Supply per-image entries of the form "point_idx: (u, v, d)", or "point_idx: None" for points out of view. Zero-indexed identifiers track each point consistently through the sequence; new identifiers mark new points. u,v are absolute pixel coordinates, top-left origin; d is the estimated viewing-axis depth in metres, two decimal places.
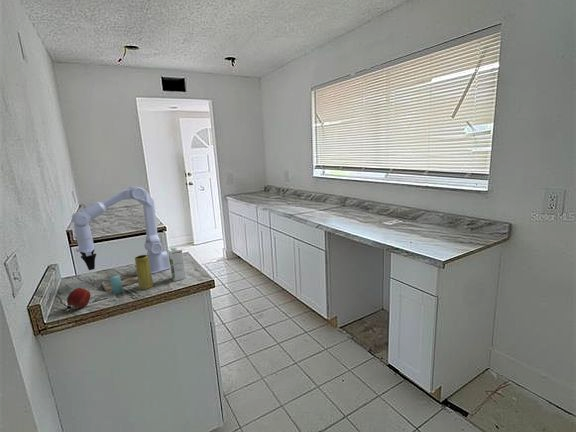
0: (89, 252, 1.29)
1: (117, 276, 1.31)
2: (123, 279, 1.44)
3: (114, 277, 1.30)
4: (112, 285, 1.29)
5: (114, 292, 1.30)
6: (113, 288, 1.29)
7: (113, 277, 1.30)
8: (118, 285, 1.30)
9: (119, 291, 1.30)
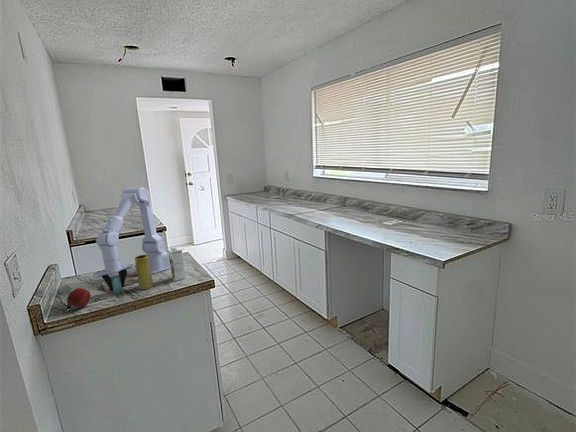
0: (94, 275, 1.25)
1: (117, 276, 1.31)
2: None
3: (114, 277, 1.30)
4: (112, 285, 1.29)
5: (114, 292, 1.30)
6: (113, 288, 1.29)
7: (113, 277, 1.30)
8: (118, 285, 1.30)
9: (119, 291, 1.30)
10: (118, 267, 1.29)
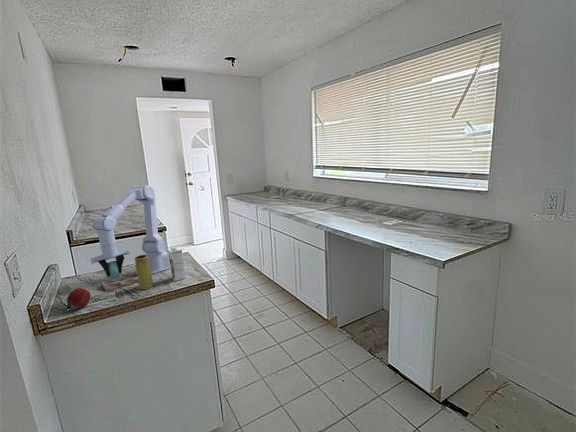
0: (91, 260, 1.23)
1: (114, 261, 1.30)
2: (123, 279, 1.44)
3: (111, 262, 1.29)
4: (109, 271, 1.28)
5: (111, 278, 1.28)
6: (110, 273, 1.28)
7: (110, 262, 1.29)
8: (115, 270, 1.28)
9: (116, 277, 1.29)
10: (115, 252, 1.27)
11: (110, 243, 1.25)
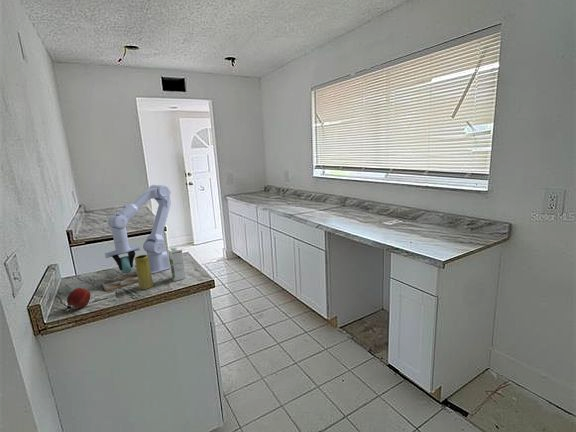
0: (105, 255, 1.35)
1: (126, 257, 1.41)
2: (123, 279, 1.44)
3: (123, 257, 1.40)
4: (122, 265, 1.40)
5: (123, 272, 1.40)
6: (122, 267, 1.40)
7: (122, 257, 1.41)
8: (127, 265, 1.40)
9: (127, 271, 1.41)
10: (127, 248, 1.39)
11: (121, 240, 1.37)
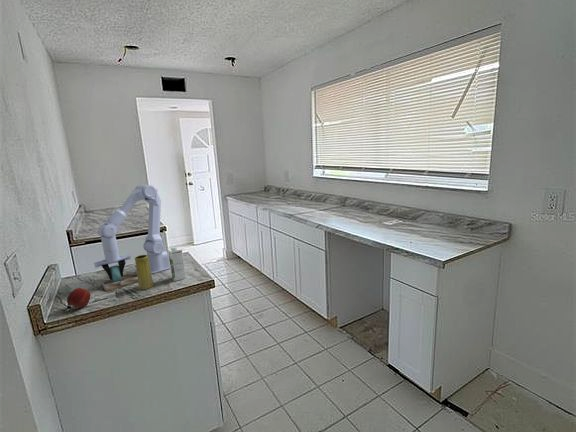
0: (94, 264, 1.33)
1: (116, 266, 1.39)
2: (123, 279, 1.44)
3: (113, 267, 1.38)
4: (111, 274, 1.37)
5: (113, 281, 1.38)
6: (112, 277, 1.38)
7: (112, 267, 1.38)
8: (117, 274, 1.38)
9: (118, 280, 1.39)
10: (117, 257, 1.37)
11: (110, 249, 1.34)
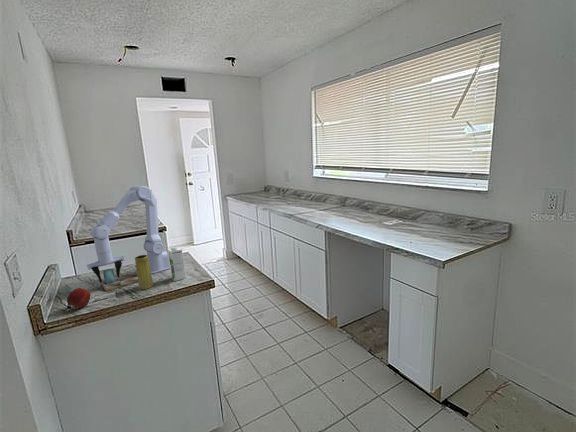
0: (87, 266, 1.32)
1: (110, 270, 1.38)
2: (123, 279, 1.44)
3: (107, 270, 1.37)
4: (105, 278, 1.36)
5: None
6: (106, 281, 1.36)
7: (106, 270, 1.37)
8: (110, 278, 1.37)
9: None
10: (110, 259, 1.35)
11: (103, 251, 1.33)
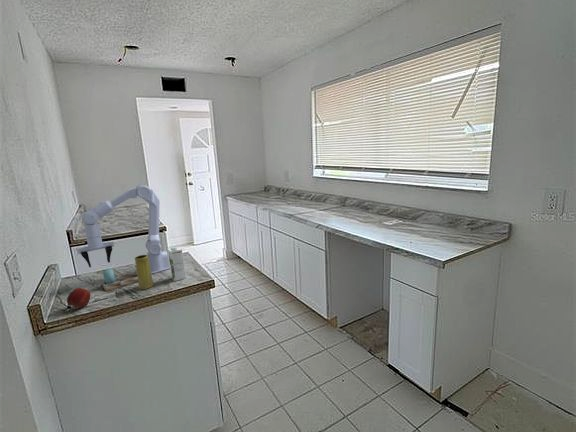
0: (77, 251, 1.34)
1: (110, 270, 1.38)
2: (123, 279, 1.44)
3: (107, 270, 1.37)
4: (105, 278, 1.36)
5: None
6: (106, 281, 1.36)
7: (106, 270, 1.37)
8: (110, 278, 1.37)
9: None
10: (100, 244, 1.38)
11: (90, 236, 1.35)
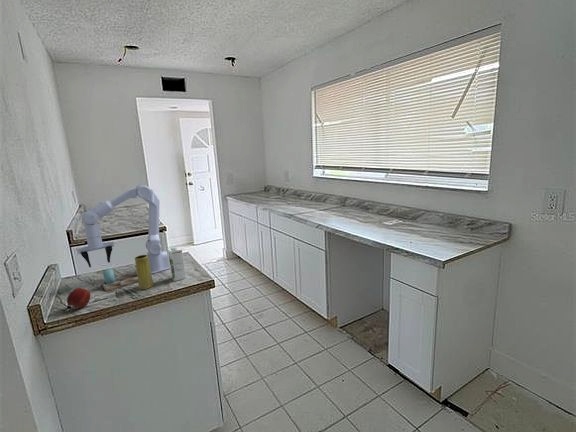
0: (77, 251, 1.34)
1: (110, 270, 1.38)
2: (123, 279, 1.44)
3: (107, 270, 1.37)
4: (105, 278, 1.36)
5: None
6: (106, 281, 1.36)
7: (106, 270, 1.37)
8: (110, 278, 1.37)
9: None
10: (100, 244, 1.38)
11: (90, 236, 1.35)
